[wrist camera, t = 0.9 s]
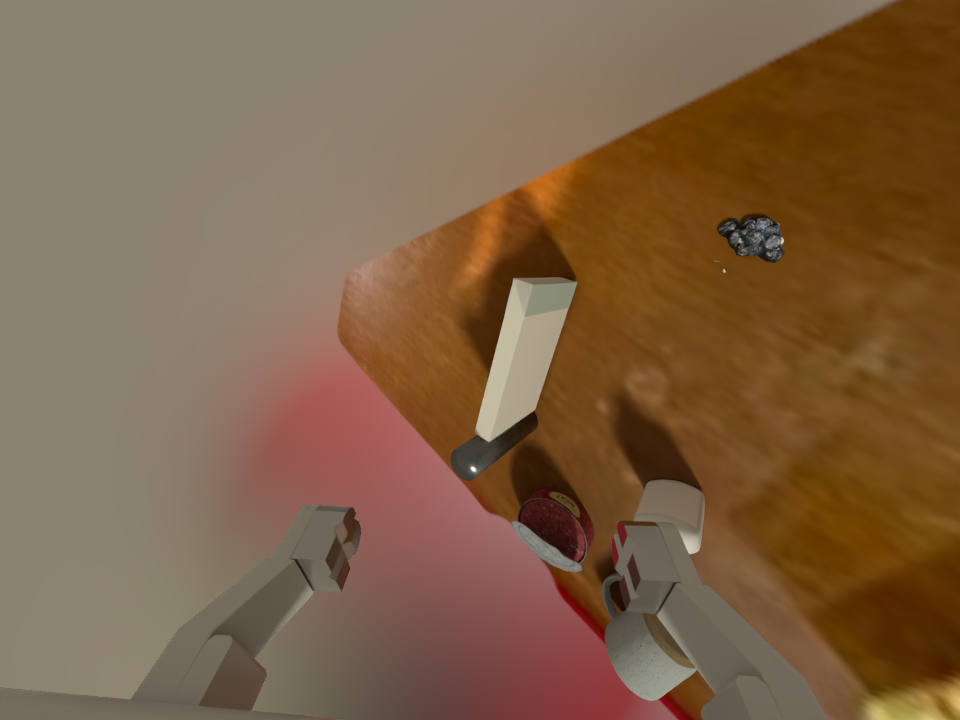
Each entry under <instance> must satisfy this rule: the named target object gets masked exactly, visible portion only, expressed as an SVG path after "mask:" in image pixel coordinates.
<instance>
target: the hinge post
mask: <svg viewBox="0 0 960 720" xmlns="http://www.w3.org/2000/svg"><path fill="white" fill-rule="evenodd" d="M537 425H538V419H537V416H536V414H535V413H534V412H533V411H532V412H531V413H530V414H528V415H527V416H525V417H524V418H523V419H521V420H520V421H518V422H517V423H515V424H514V425H513V426H511V427H510V428H508V429H507V430H506V431H504V432H503V433H501V434H500V435H498V436H497V437H496V438H494V439H493V440H491V441H490V442H488V441H486V440H485V439H483V438H482V437H480V436H479V435H477V436H475V437H474V438H472V439H471V440H469V441H468V442H466V443H464V444H463V445H461V446H460V447H458V448H457V449H455V450H454V451H453V452H452V454H451V464H452V467H453V469H454V471H455V472H456V474H457V475H458V476H459V477H461V478H462V479H464V480H468V481H470V480H473V479H474V478H476V477H477V476H478V475H479V474H481V473H482V472H483V471H484V470H486V469H487V468H488V467H489V466H490V465H492V464H493V463H494V462H495V461H497V460H498V459H499V458H500V457H502V456H503V455H504V454H505V453H507V452H508V451H509V450H510V449H512V448H513V447H514V446H515V445H516V444H518V443H519V442H520V441H521V440H523V439H524V438H525V437H526V436H528V435H529V434H530V433H531V432H533V431H534V430H535V429H536V427H537Z"/></svg>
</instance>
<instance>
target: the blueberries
mask: <svg viewBox="0 0 960 720" xmlns="http://www.w3.org/2000/svg"><path fill="white" fill-rule="evenodd" d="M779 226H780V224H779V223H776V224H774V222H773V220H772V219H770V218H765V217H762V218H751V217H750V218H747V219H746V220H745V221H744V223H743V224H741V222H740V221H739V220H737V219H736V218H734V219H732V220H730V221H727V222H726V223H725V224H723V225H722V226H721V227H720V228H719V229H718V232H719V234H721V235H722V236H724V237H726V238H727V239H728V243H729V245H730V247H731V248H733V249H734V250H735V253H736V255H739V256H751V255H758V256H759V257H760V258H762V259H763V260H765V261H766V262H770V263H775V262H777V261H779V260H780V259H781V258H782V257H783V255H784V253H785V252H784V250H783V242H784V239H783V237H782V234H781V231H780V227H779ZM716 261H717V260H716ZM716 261H715V262H716ZM718 262H719V261H718ZM724 272H725V269H724V268H723V273H724ZM725 273H726V272H725Z"/></svg>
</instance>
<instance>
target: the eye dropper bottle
mask: <svg viewBox="0 0 960 720" xmlns="http://www.w3.org/2000/svg"><path fill="white" fill-rule="evenodd" d="M704 507H705V505H704V495H703V493H702V492H701V491H700V490H698V489H697V488H695V487H693V486H690V485H688V484H685V483H682V482H679V481H674V480H664V479H661V480H652V481H649V482H648V483H647V484H646V486H645V489H644V491H643V494H642V496H641V499H640V502H639V504H638V507H637V510H636V513H635V516H634V521H650V522H666V523H673V524H674V525H675V526H676V527H677V528H678V531H679V533H680V535H681V537H682V540H683V542H684V544H685V546H686V548H687V551H688V553H689V554H692V553H696V552H698V551H699V549H700V545H701V538H702V528H703V518H704Z"/></svg>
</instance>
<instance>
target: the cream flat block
mask: <svg viewBox="0 0 960 720" xmlns="http://www.w3.org/2000/svg"><path fill="white" fill-rule="evenodd" d="M576 285H577V282H575V281H572V280H568V279H565V278H562V277H545V278H514V279H513V283H512V287H511V291H510V294H509V298H508V302H507V306H506V312H505V316H504V320H503V324H502V328H501V332H500V335H499V339H498V343H497V347H496V351H495V355H494V359H493V363H492V367H491V371H490V374H489V378H488V382H487V386H486V390H485V394H484V398H483V402H482V406H481V410H480V414H479V417H478V421H477V425H476V429H475V434H477V435H479V436H480V437H482V438H483V439H485V440H486V441H488V442H490V441H491V440H493V439H494V438H496V437H497V436H498V435H500V434H501V433H503V432H504V431H506V430H507V429H508V428H510V427H511V426H513V425H514V424H515V423H517V422H518V421H520V420H521V419H523V418H524V417H525V416H527V415H528V414H530V413H531V412H532V411H534V410H535V408H536V405H537V402H538V399H539V396H540V393H541V390H542V387H543V384H544V381H545V378H546V375H547V372H548V369H549V366H550V363H551V360H552V357H553V354H554V351H555V348H556V345H557V342H558V339H559V336H560V333H561V330H562V327H563V323H564V320H565V317H566V314H567V311H568V308H569V307H570V304H571V301H572V298H573V295H574V291H575V288H576Z"/></svg>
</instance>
